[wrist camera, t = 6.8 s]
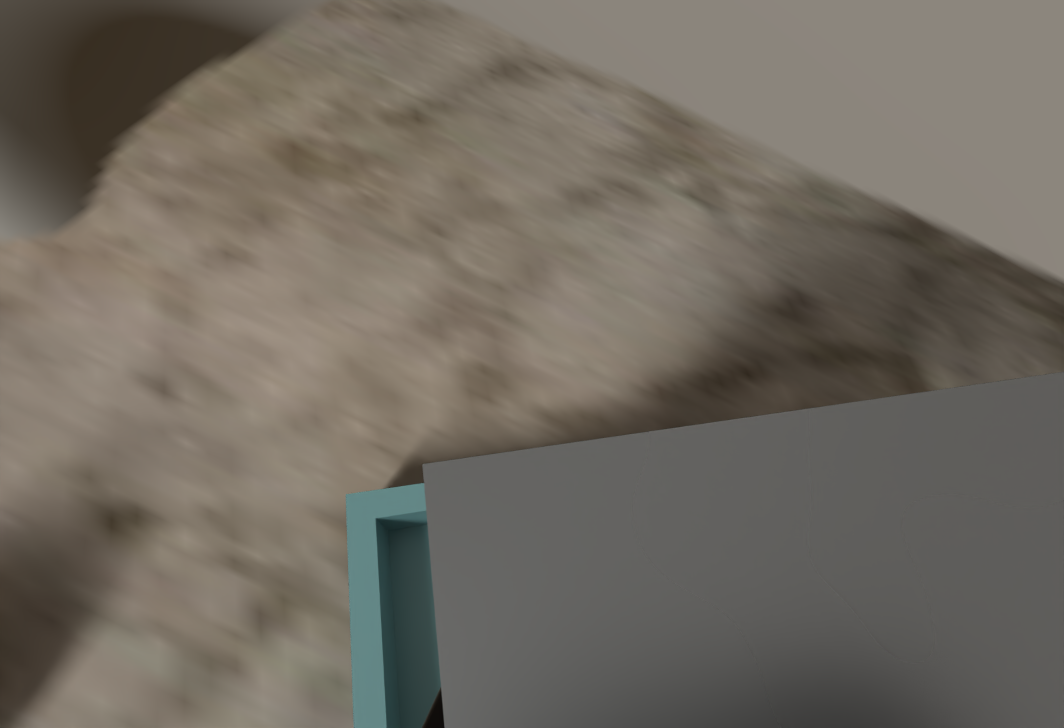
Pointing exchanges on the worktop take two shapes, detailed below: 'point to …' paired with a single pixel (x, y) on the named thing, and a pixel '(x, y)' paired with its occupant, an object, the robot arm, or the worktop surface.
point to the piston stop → (764, 570)
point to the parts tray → (391, 608)
